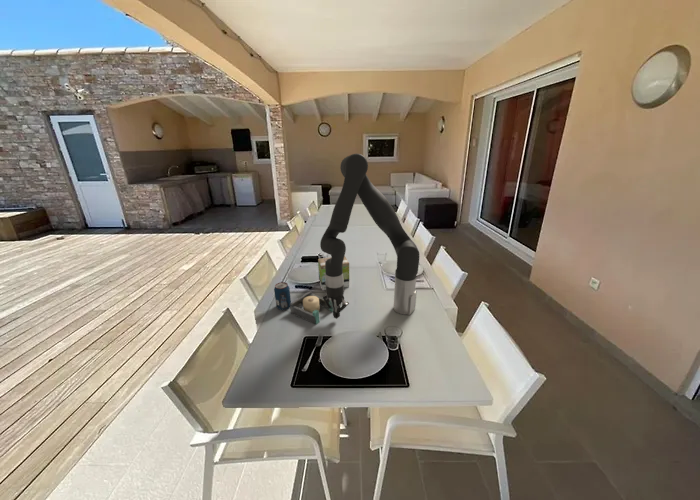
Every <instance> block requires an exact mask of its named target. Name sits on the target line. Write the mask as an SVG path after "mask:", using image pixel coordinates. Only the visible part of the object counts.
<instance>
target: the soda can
mask: <svg viewBox="0 0 700 500" xmlns="http://www.w3.org/2000/svg"><path fill="white" fill-rule="evenodd" d="M290 291H291V290H290V286H289V285H288V283H287V282H284V281H282V282H281V281H280V282H278V283H275V285H274V289H273V293H274V299H275V305H276V308H277V309H278V310H279V311H287V310H290V303H292V300H291V299H292V298H291V292H290Z"/></svg>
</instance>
